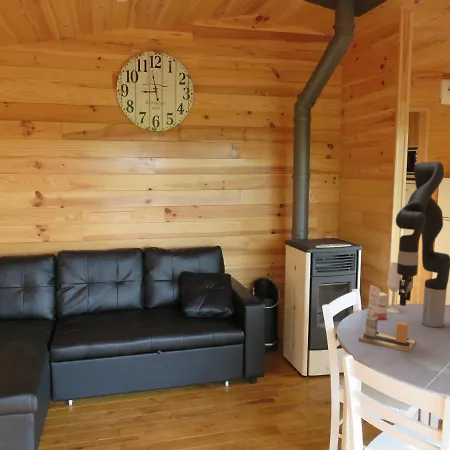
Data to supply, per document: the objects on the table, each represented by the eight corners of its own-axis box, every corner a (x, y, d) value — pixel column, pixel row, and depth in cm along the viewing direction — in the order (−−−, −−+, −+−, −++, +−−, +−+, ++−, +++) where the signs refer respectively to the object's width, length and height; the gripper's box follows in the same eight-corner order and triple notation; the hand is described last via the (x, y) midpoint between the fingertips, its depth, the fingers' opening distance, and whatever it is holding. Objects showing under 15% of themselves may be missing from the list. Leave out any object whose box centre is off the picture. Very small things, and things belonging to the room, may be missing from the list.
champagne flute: (385, 312, 238) (388, 264, 235) (385, 308, 245) (388, 261, 241) (399, 313, 236) (403, 265, 233) (399, 309, 243) (402, 262, 240)
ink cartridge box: (387, 319, 227) (389, 288, 225) (377, 320, 226) (380, 289, 224) (376, 313, 235) (378, 284, 234) (367, 314, 234) (369, 284, 232)
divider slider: (400, 336, 200) (401, 317, 198) (409, 338, 198) (411, 319, 197) (395, 343, 192) (396, 324, 191) (404, 345, 190) (406, 325, 189)
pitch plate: (366, 332, 208) (368, 310, 207) (415, 342, 198) (417, 319, 197) (358, 341, 198) (360, 318, 197) (410, 351, 188) (411, 327, 187)
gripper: (401, 258, 196) (398, 297, 198) (393, 264, 184) (390, 305, 186) (421, 260, 192) (418, 300, 195) (414, 266, 180) (411, 309, 183)
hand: (404, 302), depth 190 cm, fingers open, 8 cm apart
